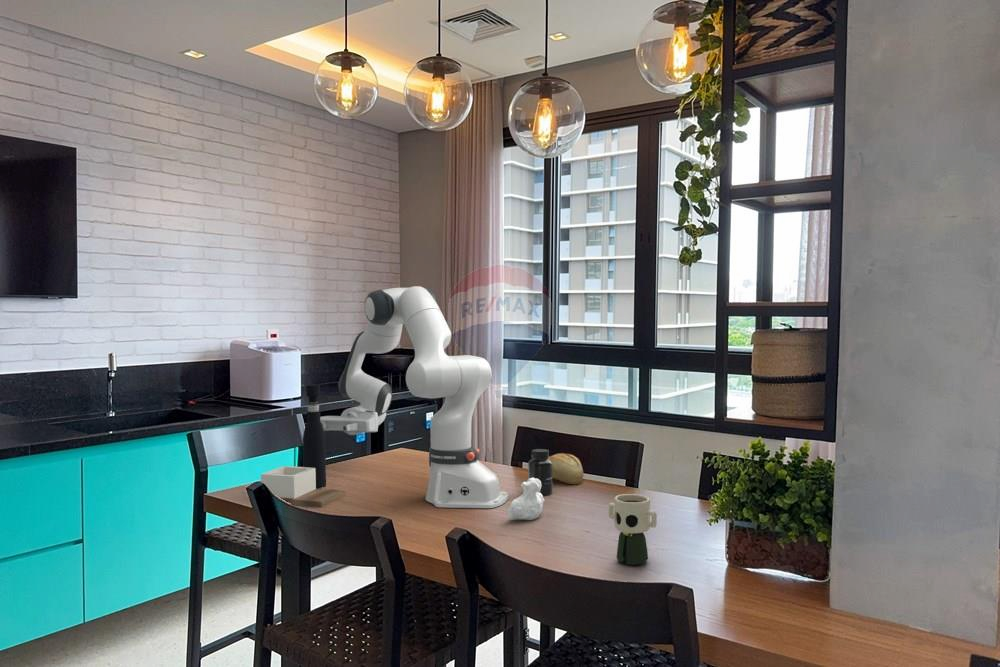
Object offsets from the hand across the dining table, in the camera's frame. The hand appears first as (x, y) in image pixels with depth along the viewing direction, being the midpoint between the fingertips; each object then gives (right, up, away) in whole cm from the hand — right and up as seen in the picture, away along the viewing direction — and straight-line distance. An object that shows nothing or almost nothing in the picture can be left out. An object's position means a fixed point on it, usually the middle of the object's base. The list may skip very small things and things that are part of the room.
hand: (331, 427), depth 215 cm
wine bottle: (-3, -16, -9) cm, 19 cm away
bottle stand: (-3, -17, -22) cm, 28 cm away
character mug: (+79, -18, -73) cm, 109 cm away
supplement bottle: (+63, -16, -19) cm, 68 cm away
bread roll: (+71, -15, -4) cm, 72 cm away
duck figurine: (+59, -17, -43) cm, 75 cm away
